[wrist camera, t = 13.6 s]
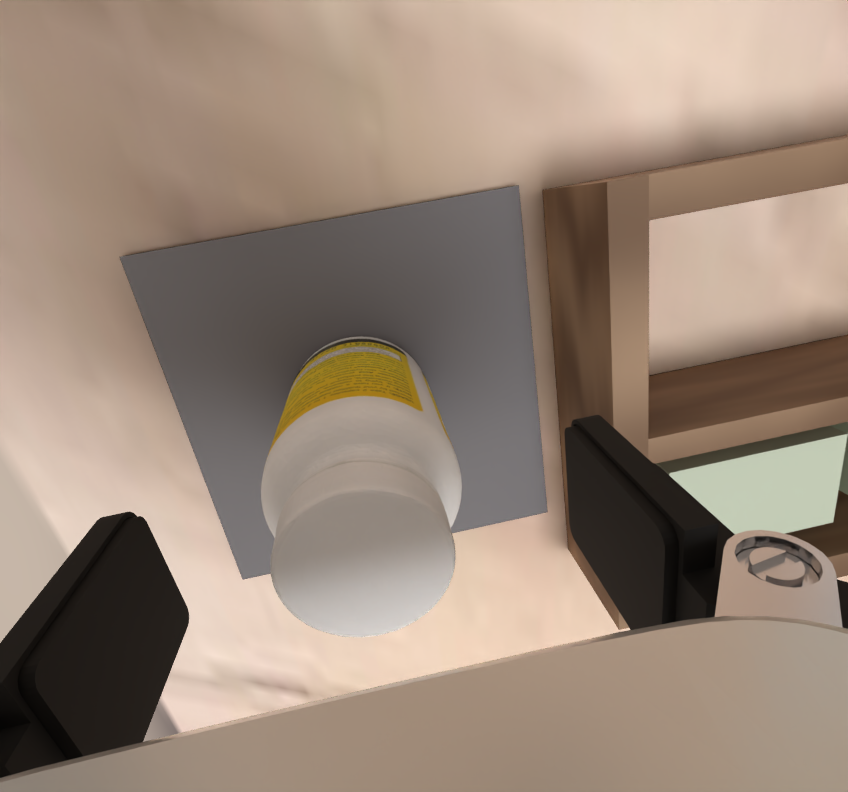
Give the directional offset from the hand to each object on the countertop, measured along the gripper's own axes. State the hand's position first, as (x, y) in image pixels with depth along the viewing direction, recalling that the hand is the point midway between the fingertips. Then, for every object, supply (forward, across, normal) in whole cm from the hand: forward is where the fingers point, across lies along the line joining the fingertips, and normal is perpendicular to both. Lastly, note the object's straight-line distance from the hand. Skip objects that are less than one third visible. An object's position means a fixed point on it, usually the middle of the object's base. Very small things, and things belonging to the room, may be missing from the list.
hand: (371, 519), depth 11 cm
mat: (+10, 0, +1) cm, 10 cm away
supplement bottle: (+9, 0, +1) cm, 9 cm away
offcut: (+10, -14, +7) cm, 18 cm away
